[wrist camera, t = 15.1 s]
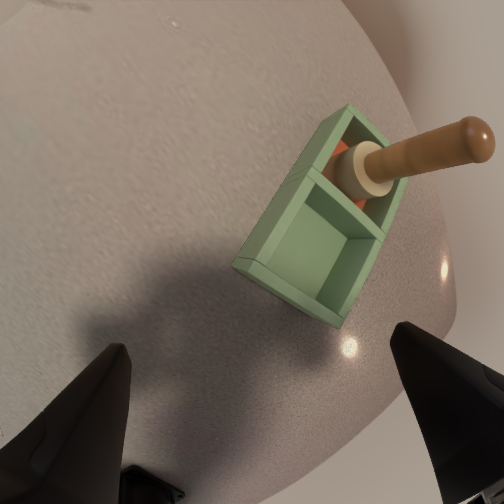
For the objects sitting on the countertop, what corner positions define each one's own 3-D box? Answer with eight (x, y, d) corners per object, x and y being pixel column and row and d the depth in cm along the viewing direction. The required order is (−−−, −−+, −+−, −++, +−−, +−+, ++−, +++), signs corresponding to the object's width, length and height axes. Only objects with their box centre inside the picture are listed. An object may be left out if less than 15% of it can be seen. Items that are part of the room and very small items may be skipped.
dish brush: (366, 196, 21) (511, 170, 9) (331, 209, 20) (495, 182, 8) (351, 151, 21) (488, 99, 8) (314, 160, 20) (465, 92, 7)
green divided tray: (310, 316, 21) (339, 330, 17) (230, 266, 19) (247, 271, 15) (381, 176, 23) (412, 168, 19) (322, 120, 21) (349, 102, 17)
